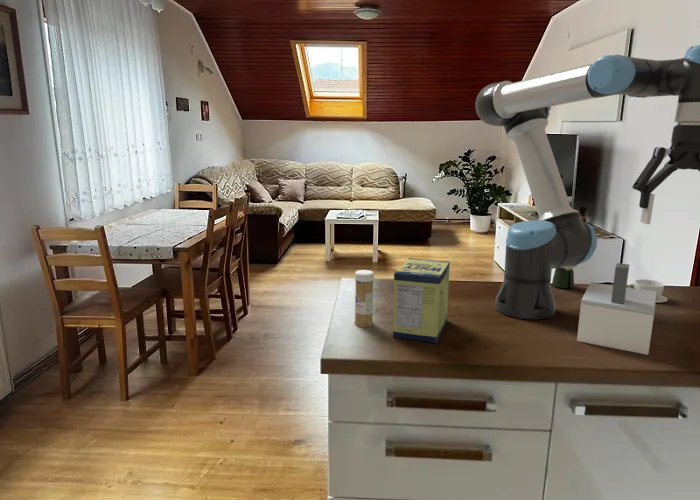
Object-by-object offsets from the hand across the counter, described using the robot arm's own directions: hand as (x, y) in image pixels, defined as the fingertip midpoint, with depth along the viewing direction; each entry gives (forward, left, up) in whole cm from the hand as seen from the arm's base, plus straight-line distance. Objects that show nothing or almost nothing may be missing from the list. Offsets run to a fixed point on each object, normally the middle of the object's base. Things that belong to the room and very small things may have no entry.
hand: (677, 224), depth 110 cm
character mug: (-26, +30, -27) cm, 48 cm away
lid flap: (-9, +3, -18) cm, 20 cm away
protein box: (-49, -25, -27) cm, 61 cm away
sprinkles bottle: (-62, -30, -27) cm, 74 cm away
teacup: (-4, +32, -27) cm, 42 cm away
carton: (-9, -5, -27) cm, 28 cm away
